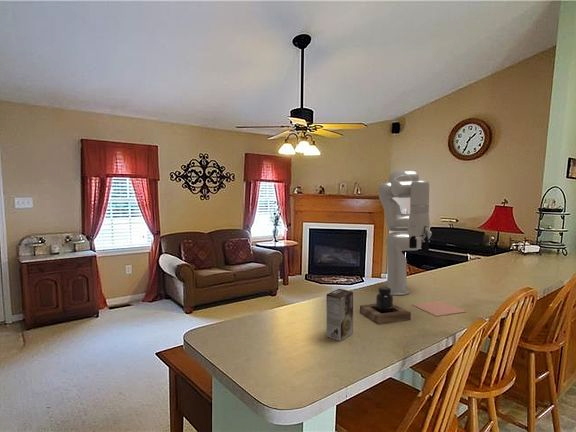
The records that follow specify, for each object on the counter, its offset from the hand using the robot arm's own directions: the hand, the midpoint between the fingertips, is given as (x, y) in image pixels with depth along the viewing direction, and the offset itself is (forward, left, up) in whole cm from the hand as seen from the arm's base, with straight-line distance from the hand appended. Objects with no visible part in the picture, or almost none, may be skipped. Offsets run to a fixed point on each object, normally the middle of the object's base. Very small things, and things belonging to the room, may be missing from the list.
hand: (418, 249), depth 150 cm
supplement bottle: (-2, -15, -28) cm, 32 cm away
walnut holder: (-2, -15, -28) cm, 32 cm away
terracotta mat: (-2, +13, -28) cm, 31 cm away
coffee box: (+10, -42, -28) cm, 52 cm away
